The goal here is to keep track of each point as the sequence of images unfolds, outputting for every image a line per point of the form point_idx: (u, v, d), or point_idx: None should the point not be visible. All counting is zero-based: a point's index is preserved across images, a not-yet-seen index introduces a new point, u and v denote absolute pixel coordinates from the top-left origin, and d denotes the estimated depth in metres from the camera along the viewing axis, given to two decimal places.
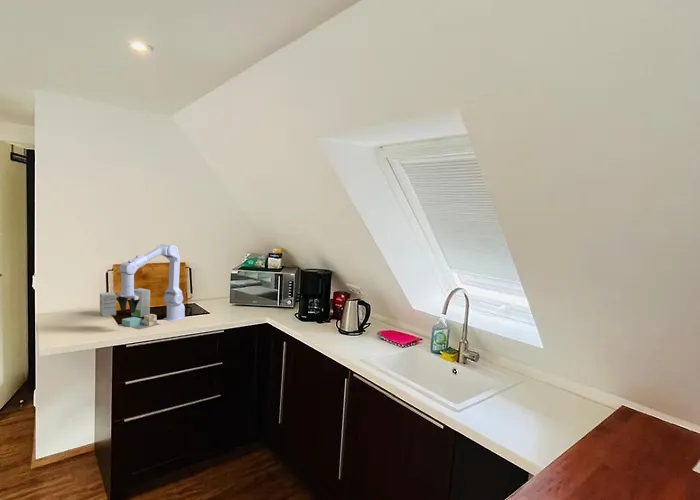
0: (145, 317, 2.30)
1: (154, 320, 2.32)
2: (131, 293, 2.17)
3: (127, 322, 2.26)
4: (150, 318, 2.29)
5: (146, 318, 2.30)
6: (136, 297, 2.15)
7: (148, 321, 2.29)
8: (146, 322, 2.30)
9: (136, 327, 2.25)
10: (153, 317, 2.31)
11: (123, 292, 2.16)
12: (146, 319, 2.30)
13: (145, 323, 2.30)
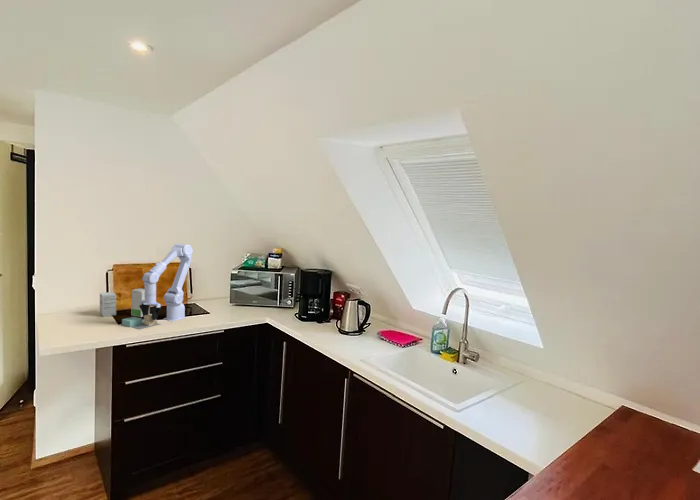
0: (145, 317, 2.30)
1: (154, 320, 2.32)
2: (153, 301, 2.29)
3: (127, 322, 2.26)
4: (150, 318, 2.29)
5: (146, 318, 2.30)
6: (158, 305, 2.27)
7: (148, 321, 2.29)
8: (146, 322, 2.30)
9: (136, 327, 2.25)
10: None
11: (146, 300, 2.28)
12: (146, 319, 2.30)
13: (145, 323, 2.30)
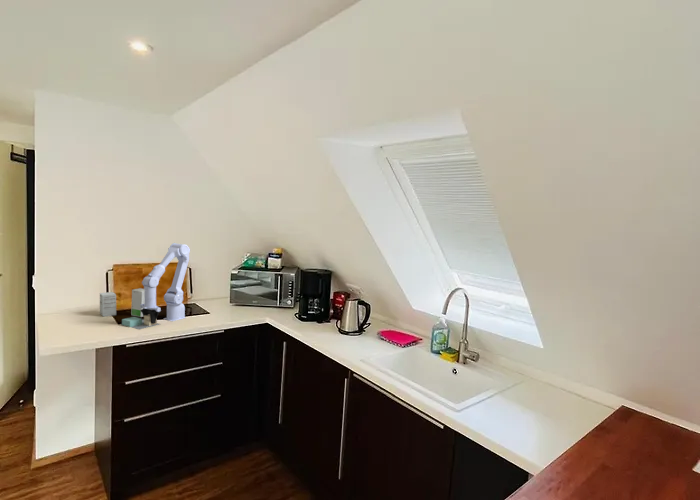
0: (145, 317, 2.30)
1: None
2: (153, 305, 2.30)
3: (127, 322, 2.26)
4: (150, 318, 2.29)
5: (146, 318, 2.30)
6: (158, 309, 2.27)
7: (148, 321, 2.29)
8: (146, 322, 2.30)
9: (136, 327, 2.25)
10: None
11: (146, 304, 2.28)
12: (146, 319, 2.30)
13: (145, 323, 2.30)
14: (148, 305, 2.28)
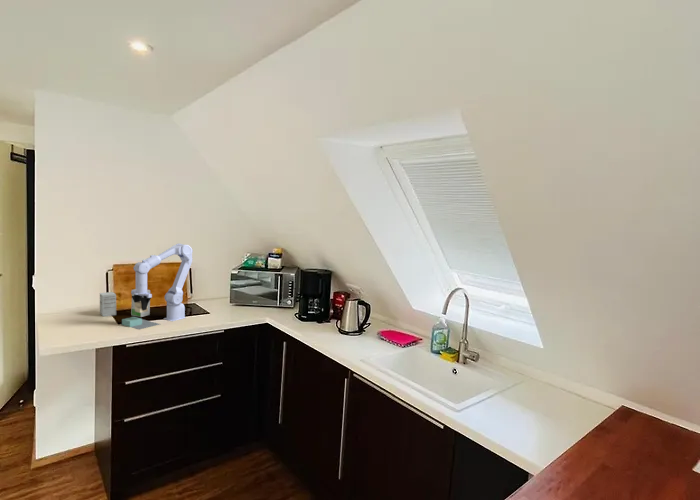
0: (136, 304, 2.28)
1: None
2: (144, 291, 2.28)
3: (127, 322, 2.26)
4: (141, 305, 2.27)
5: (136, 305, 2.28)
6: (149, 295, 2.26)
7: (138, 308, 2.27)
8: (137, 309, 2.28)
9: (136, 327, 2.25)
10: None
11: (137, 290, 2.26)
12: (137, 306, 2.28)
13: (136, 310, 2.28)
14: (139, 291, 2.26)
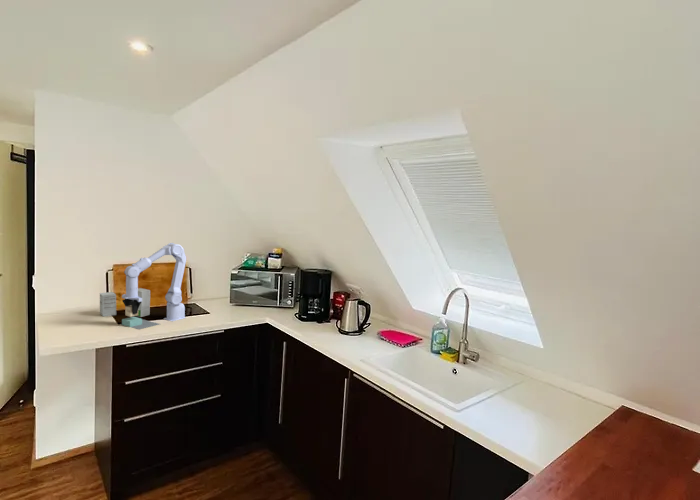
0: (126, 308, 2.28)
1: None
2: (135, 295, 2.27)
3: (127, 322, 2.26)
4: (131, 309, 2.27)
5: (127, 309, 2.27)
6: (140, 299, 2.25)
7: (129, 312, 2.27)
8: (127, 313, 2.27)
9: (136, 327, 2.25)
10: None
11: (127, 294, 2.26)
12: (127, 310, 2.27)
13: (126, 314, 2.28)
14: (129, 295, 2.26)
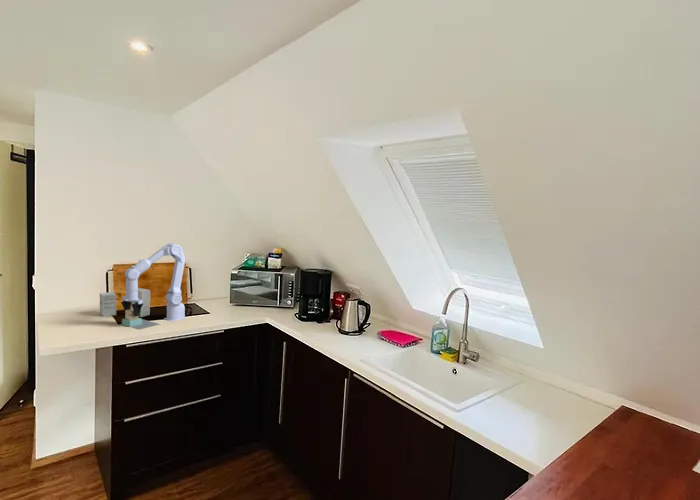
0: (126, 312, 2.28)
1: None
2: (135, 297, 2.27)
3: (127, 322, 2.26)
4: (131, 313, 2.27)
5: (127, 313, 2.28)
6: (140, 301, 2.25)
7: (129, 316, 2.27)
8: (127, 317, 2.28)
9: (136, 327, 2.25)
10: None
11: (127, 296, 2.26)
12: (127, 314, 2.27)
13: (126, 318, 2.28)
14: (129, 297, 2.26)
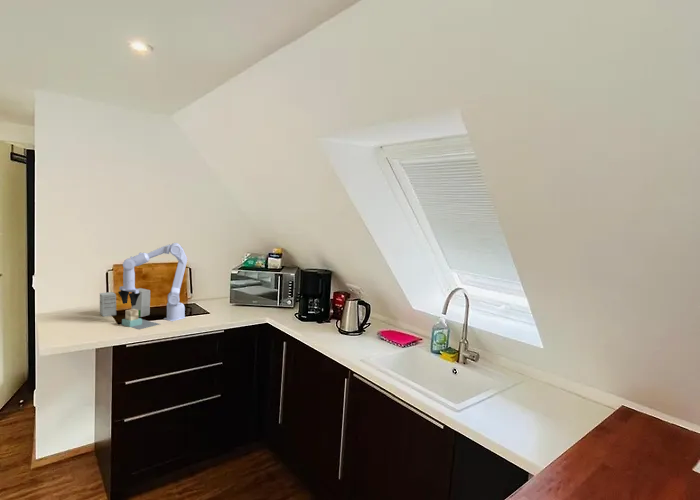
0: (126, 312, 2.28)
1: (136, 315, 2.29)
2: (132, 287, 2.33)
3: (127, 322, 2.26)
4: (131, 313, 2.27)
5: (127, 313, 2.28)
6: (137, 291, 2.31)
7: (129, 316, 2.27)
8: (127, 317, 2.28)
9: (136, 327, 2.25)
10: (135, 312, 2.28)
11: (125, 286, 2.31)
12: (127, 314, 2.27)
13: (126, 318, 2.28)
14: (127, 287, 2.31)
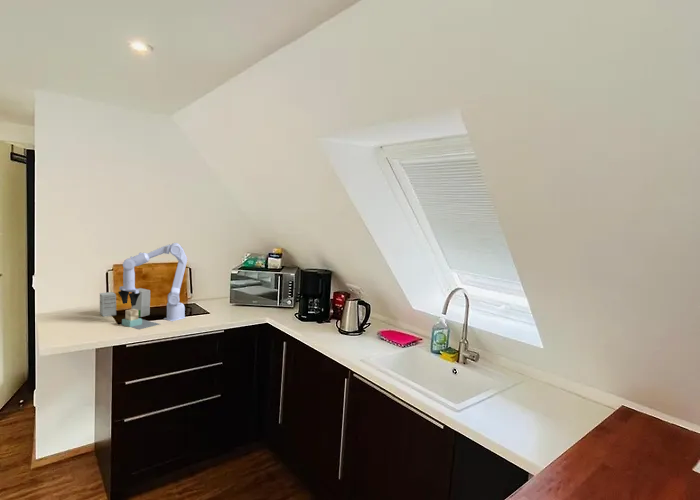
0: (126, 312, 2.28)
1: (136, 315, 2.29)
2: (132, 287, 2.33)
3: (127, 322, 2.26)
4: (131, 313, 2.27)
5: (127, 313, 2.28)
6: (137, 291, 2.31)
7: (129, 316, 2.27)
8: (127, 317, 2.28)
9: (136, 327, 2.25)
10: (135, 312, 2.28)
11: (125, 286, 2.31)
12: (127, 314, 2.27)
13: (126, 318, 2.28)
14: (127, 287, 2.31)
